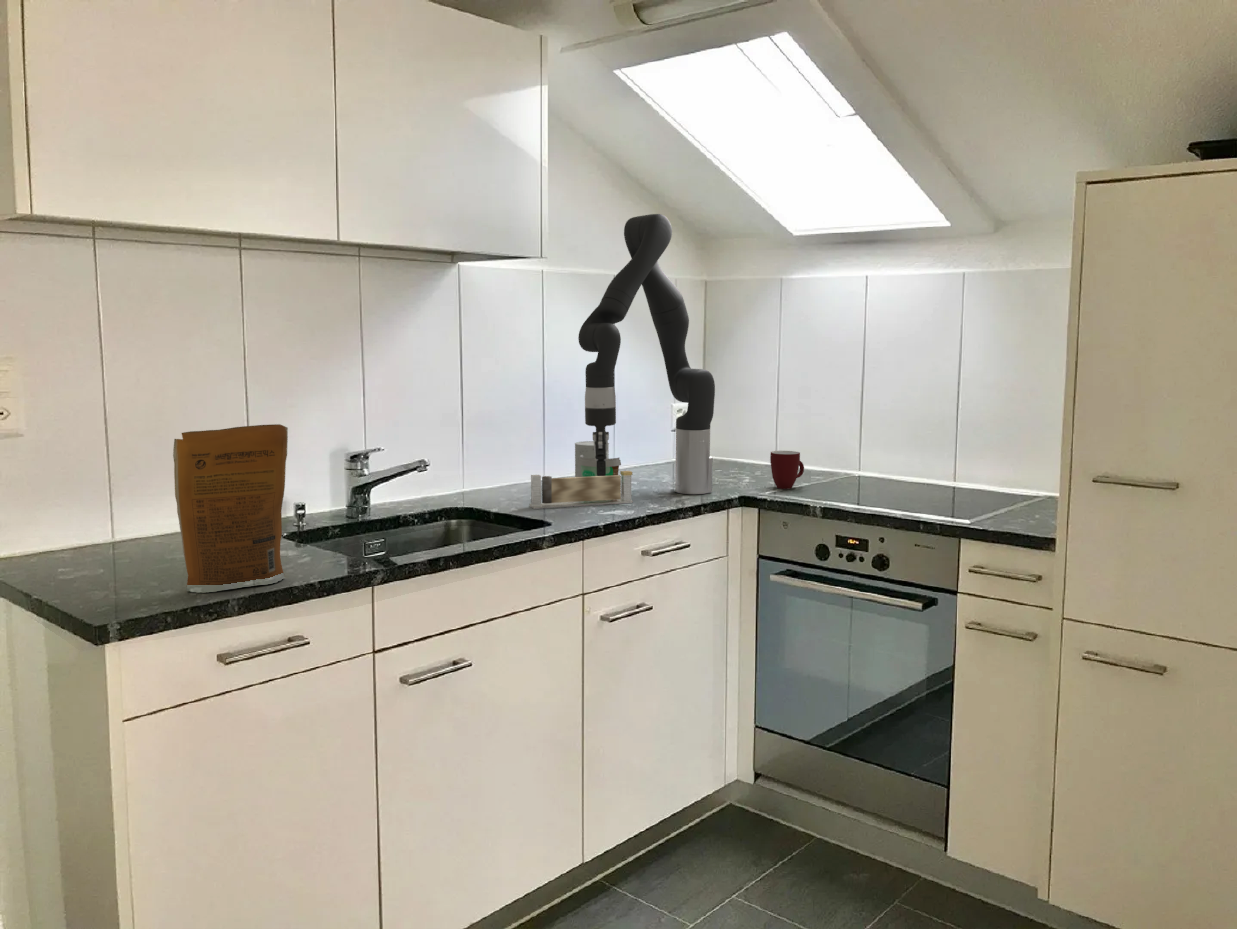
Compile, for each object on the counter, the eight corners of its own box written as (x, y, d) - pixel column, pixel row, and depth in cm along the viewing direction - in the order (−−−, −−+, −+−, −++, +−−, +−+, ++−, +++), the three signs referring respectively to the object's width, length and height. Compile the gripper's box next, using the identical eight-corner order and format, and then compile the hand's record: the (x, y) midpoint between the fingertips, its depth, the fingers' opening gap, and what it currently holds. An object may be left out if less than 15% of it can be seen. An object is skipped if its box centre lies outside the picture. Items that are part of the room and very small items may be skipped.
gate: (543, 503, 247) (543, 477, 246) (541, 502, 249) (541, 476, 248) (621, 499, 253) (621, 474, 252) (618, 498, 255) (618, 472, 254)
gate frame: (533, 509, 245) (533, 476, 244) (529, 506, 249) (529, 474, 248) (633, 502, 254) (633, 471, 253) (627, 500, 258) (628, 469, 257)
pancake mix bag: (299, 583, 175) (292, 424, 171) (183, 600, 165) (172, 431, 161) (289, 575, 181) (282, 421, 177) (175, 590, 170) (165, 427, 166)
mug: (789, 484, 284) (790, 449, 283) (811, 487, 278) (812, 452, 277) (763, 487, 278) (764, 452, 277) (785, 491, 272) (785, 455, 270)
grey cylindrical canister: (577, 484, 284) (577, 441, 282) (610, 484, 283) (610, 441, 281) (572, 489, 274) (572, 445, 273) (607, 490, 273) (607, 445, 272)
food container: (569, 494, 267) (569, 457, 265) (581, 491, 272) (580, 454, 270) (610, 498, 261) (610, 460, 259) (621, 494, 266) (621, 457, 265)
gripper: (615, 407, 237) (616, 479, 240) (615, 402, 250) (616, 471, 253) (583, 408, 237) (585, 480, 240) (585, 403, 250) (586, 471, 253)
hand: (601, 475), depth 246 cm, fingers closed
